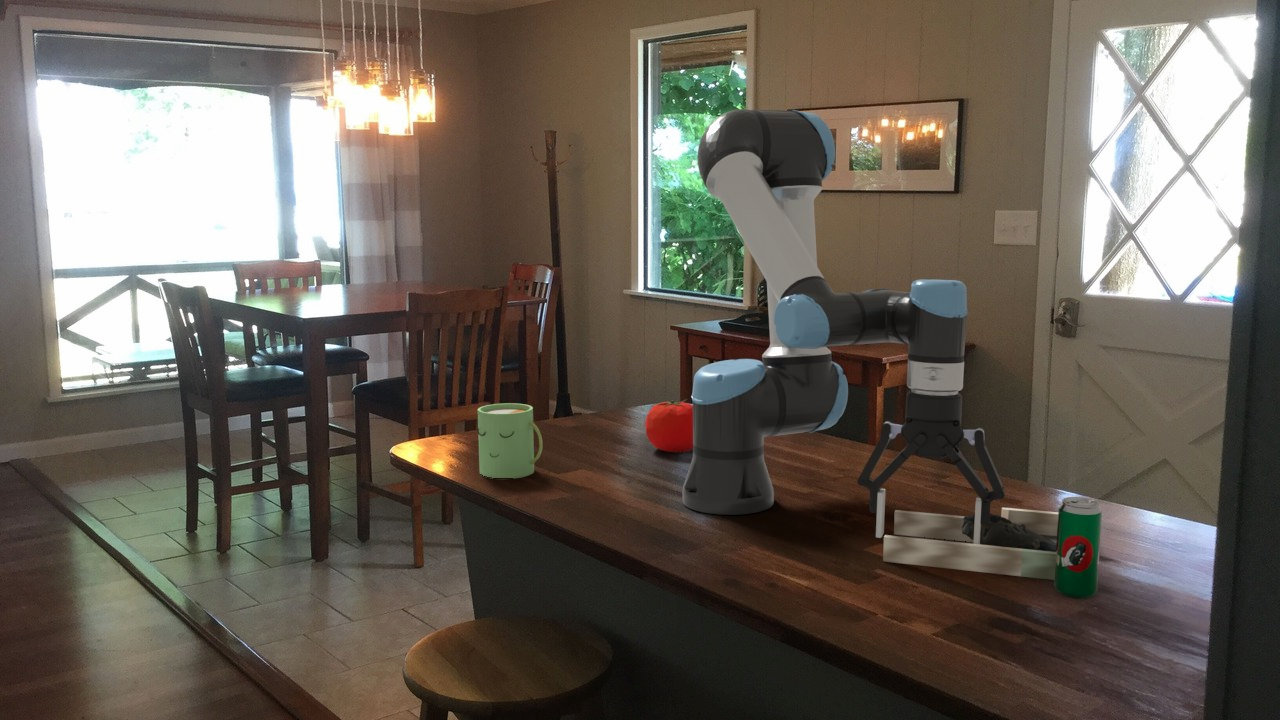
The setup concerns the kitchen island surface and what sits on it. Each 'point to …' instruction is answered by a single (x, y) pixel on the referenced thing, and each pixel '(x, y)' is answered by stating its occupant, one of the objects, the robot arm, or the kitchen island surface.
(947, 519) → the channel
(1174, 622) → the kitchen island surface
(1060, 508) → the soda can
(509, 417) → the mug
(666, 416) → the tomato
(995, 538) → the stone
